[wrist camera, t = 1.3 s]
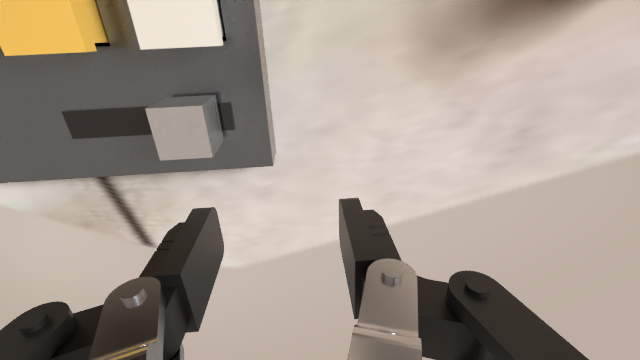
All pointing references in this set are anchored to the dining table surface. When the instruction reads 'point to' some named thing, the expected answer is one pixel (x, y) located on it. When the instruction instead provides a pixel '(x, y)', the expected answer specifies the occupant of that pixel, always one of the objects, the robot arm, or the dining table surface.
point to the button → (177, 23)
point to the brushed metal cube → (186, 127)
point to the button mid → (50, 26)
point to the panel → (132, 101)
